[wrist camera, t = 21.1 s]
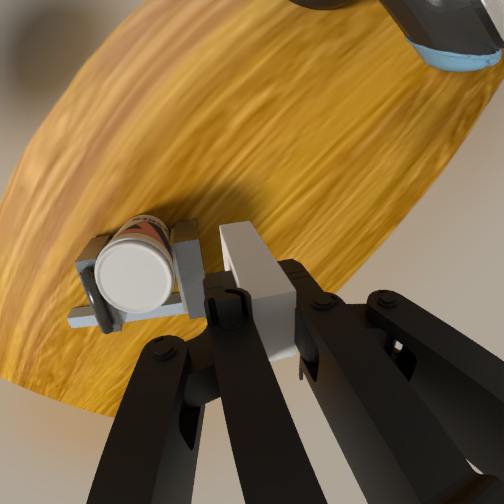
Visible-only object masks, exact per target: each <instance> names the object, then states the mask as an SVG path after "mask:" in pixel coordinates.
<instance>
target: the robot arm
mask: <svg viewBox="0 0 504 504" xmlns="http://www.w3.org/2000/svg"><path fill="white" fill-rule="evenodd" d="M289 1H291V2H293V3H295V4H297V5H300V6H303V7H306V8H310V9H315V10H331V9H335V8H338V7H340V6H342V5H344V4H345V3H347V2H349V1H350V0H289ZM379 1H380V3H381V4H382V5H383V6H384V8H385V9H386V10H387V12H388V13H389V14H390V15H391V17H392V18H393V19H394V21H395V22H396V24H397V25H398V26H399V28H400V29H401V31H402V32H403V33H404V35H405V38H406V40H407V41H408V42H409V43H410V44H412V46H413V47H414V48H415V50H416V51H417V53H418V54H419V56H420V57H421V58H422V60H423V61H424V62H426V63H427V64H428V65H430V66H433V67H434V68H437V69H440V70H444V71H452V72H466V71H476V70H481V69H484V68H486V66H493V65H495V64H496V63H498V62H499V60H500V59H501V48H504V0H379ZM219 228H220V236H221V244H222V251H223V259H224V267H225V271H223V272H217V273H211V274H207V275H206V276H205V278H204V280H203V281H202V282H203V289H204V296H205V299H204V308H205V313H206V318H207V323H208V325H207V327H206V329H205V330H204V331H203V332H202V333H201V334H200V335H199V336H197V337H195V338H193V339H191V340H188V341H186V342H185V341H184V340H183V339H181V338H179V337H178V336H172V335H166V336H160V337H157V338H155V339H152V340H151V341H150V342H148V343H147V344H146V345H145V347H144V348H143V350H142V352H141V354H140V356H139V359H138V361H137V364H136V366H135V368H134V371H133V373H132V376H131V378H130V381H129V383H128V386H127V388H126V391H125V393H124V396H123V398H122V401H121V403H120V406H119V409H118V411H117V414H116V417H115V419H114V422H113V425H112V427H111V430H110V433H109V436H108V439H107V442H106V444H105V447H104V450H103V453H102V456H101V459H100V462H99V465H98V468H97V471H96V474H95V477H94V480H93V483H92V486H91V490H90V493H89V496H88V500H87V503H86V504H191V500H192V492H193V485H194V478H195V471H196V464H197V457H198V451H199V444H200V437H201V431H202V424H203V418H204V410H205V404H206V403H208V402H210V401H212V400H214V399H217V398H219V397H221V400H222V405H223V410H224V415H225V420H226V424H227V429H228V434H229V437H230V443H231V447H232V451H233V455H234V460H235V464H236V468H237V472H238V476H239V480H240V484H241V488H242V492H243V496H244V500H245V503H246V504H328V503H327V501H326V499H325V497H324V494H323V492H322V490H321V487H320V485H319V483H318V480H317V478H316V475H315V473H314V470H313V468H312V466H311V463H310V461H309V458H308V456H307V454H306V452H305V449H304V446H303V444H302V442H301V439H300V437H299V434H298V432H297V429H296V427H295V424H294V422H293V419H292V417H291V415H290V412H289V410H288V408H287V405H286V403H285V400H284V397H283V394H282V392H281V389H280V387H279V384H278V382H277V379H276V377H275V374H274V372H273V369H272V367H271V364H270V361H274V360H278V359H283V358H287V357H291V356H294V355H295V344H296V346H297V348H298V350H299V352H300V364H299V378H300V380H303V372H304V374H305V376H306V378H307V380H308V382H309V384H310V387H311V389H312V391H313V393H314V394H315V397H316V399H317V401H318V403H319V405H320V407H321V409H322V411H323V413H324V415H325V417H326V419H327V421H328V423H329V425H330V427H331V429H332V432H333V434H334V436H335V438H336V440H337V442H338V443H339V446H340V448H341V450H342V452H343V454H344V456H345V458H346V460H347V462H348V464H349V466H350V468H351V470H352V472H353V474H354V476H355V478H356V480H357V482H358V484H359V486H360V488H361V490H362V492H363V494H364V496H365V498H366V500H367V502H368V504H504V361H502V360H501V359H499V358H498V357H497V356H495V355H494V354H492V353H491V352H489V351H488V350H486V349H485V348H483V347H482V346H480V345H479V344H477V343H476V342H474V341H473V340H471V339H470V338H468V337H467V336H465V335H463V334H462V333H461V332H459V331H457V330H456V329H454V328H453V327H451V326H450V325H448V324H447V323H445V322H443V321H442V320H440V319H439V318H437V317H436V316H434V315H433V314H431V313H429V312H428V311H426V310H424V309H423V308H421V307H420V306H418V305H416V304H415V303H413V302H412V301H410V300H408V299H407V298H405V297H404V296H402V295H400V294H398V293H396V292H394V291H390V290H378V291H374V292H372V293H371V294H370V295H369V296H368V299H367V304H346V303H345V302H344V301H343V300H342V299H341V298H340V297H338V296H337V295H335V294H333V293H329V292H324V291H323V290H322V289H321V287H320V286H319V285H318V284H317V282H316V281H315V280H314V279H313V277H312V276H310V274H309V273H308V271H306V269H305V268H304V266H303V265H302V264H301V263H299V262H297V261H295V260H293V259H288V260H282V261H276V259H275V258H274V256H273V255H272V253H271V252H270V250H269V249H268V247H267V246H266V244H265V243H264V241H263V240H262V238H261V237H260V236H259V234H258V233H257V231H256V230H255V228H254V227H253V225H252V224H251V222H250V221H244V222H237V223H230V224H224V225H219ZM396 341H398V342H400V343H401V344H402V345H403V347H402V349H401V350H398V349H396V348H395V344H396ZM465 458H466V459H467V460H468V461H469V462H470V463H472V464H473V465H474V466H475V467H476V468H478V469H479V470H480V471H481V472H482V473H483V474H479V473H477V472H475V471H474V470H473V469H472V467H471V466H470V465H469V463H468V462H467V460H466V459H465Z"/></svg>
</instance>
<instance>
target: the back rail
mask: <svg viewBox="0 0 504 504" xmlns="http://www.w3.org/2000/svg"><path fill="white" fill-rule="evenodd" d="M184 313H188V312H184V308H183V304H182V300H181V296H180V293H173V294H171V295H170V297H169V298H168V299H167V301H166V302H165V303H163V304H162V305H161V306H160V307H158V308H156V309H155V310H153V311H150V312H146V313H129V312H128V313H127V318H126V322H128V321H136V320H143V319H151V318H158V317H164V316H171V315H178V314H184ZM67 320H68V322H69V324H70V326H71V328H77V327H87V326H96V325H98V322H97V320H96V318H95V315H94V313H93V310H92V308H91V306H84V307H77V308H72V309H71V311H70V313H69V315H68V317H67Z"/></svg>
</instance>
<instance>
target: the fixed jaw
mask: <svg viewBox="0 0 504 504" xmlns="http://www.w3.org/2000/svg"><path fill="white" fill-rule="evenodd" d="M169 246H170V250H171V252H172V257H173V265H174V269H175V274H176V278H177V283H178V287H179V291H180V296H181V300H182V304H183V308H184V312H188V313H189V317H190V319H194V318H200V317H206V313H205V308H204V299H205V296H204V289H203V282H202V281H203V280H204V278H205V272H204V266H203V260H202V254H201V248H200V242H199V235H198V229H197V222H196V219H190V220H184V221H178V222H175V228H171V235H170V244H169Z"/></svg>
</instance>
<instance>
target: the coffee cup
mask: <svg viewBox="0 0 504 504" xmlns="http://www.w3.org/2000/svg"><path fill="white" fill-rule="evenodd" d="M169 244H170V232H169V230H168V228H167V226H166V225H165V224H164V223H163V222H162V221H161V220H160V219H158V218H156V217H154V216H151V215H138V216H135V217H133V218H131V219H129V220H128V221H127V222H126V223H125V224H124V225H123V226H122V227H121V229H120V230H119V231H118V232H117V233H116V235H115V236H114V237H113V238H112V240H111V241H110V242H109V243H108V245H106V246H105V247H104V248H103V250H102V251H101V252H100V254H99V256H98V258H97V260H96V264H95V280H96V283H97V286H98V289H99V291H100V293H101V294H102V296H103V297H104V298H105V299H106V300H107V301H108V302H109V303H110V304H111V305H113V306H114V307H116V308H117V309H120V310H122V311H125V312H129V313H146V312H150V311H153V310H155V309H156V308H158V307H160V306H161V305H162V304H163V303H165V302H166V301H167V299H168V298H169V297H170V295H171V293H172V291H173V288H174V284H175V271H174V267H173V257H172V252H171V250H170V246H169Z"/></svg>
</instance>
